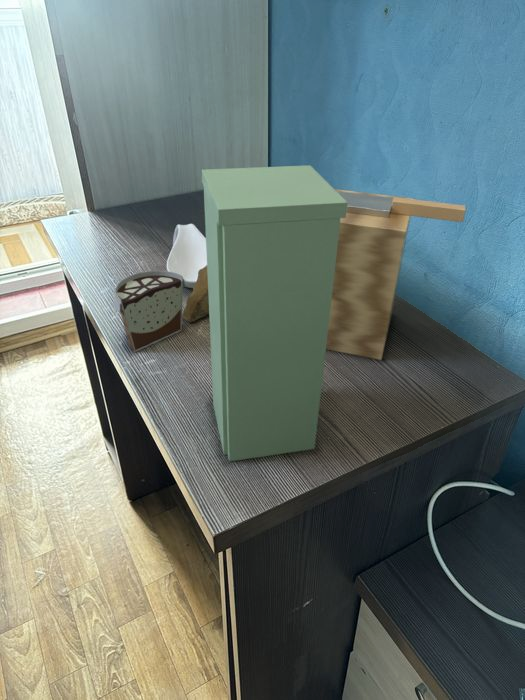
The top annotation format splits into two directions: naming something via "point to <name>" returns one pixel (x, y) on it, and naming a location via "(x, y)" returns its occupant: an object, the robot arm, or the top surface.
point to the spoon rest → (187, 253)
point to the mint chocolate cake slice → (150, 306)
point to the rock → (198, 298)
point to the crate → (365, 281)
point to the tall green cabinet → (269, 303)
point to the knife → (401, 207)
